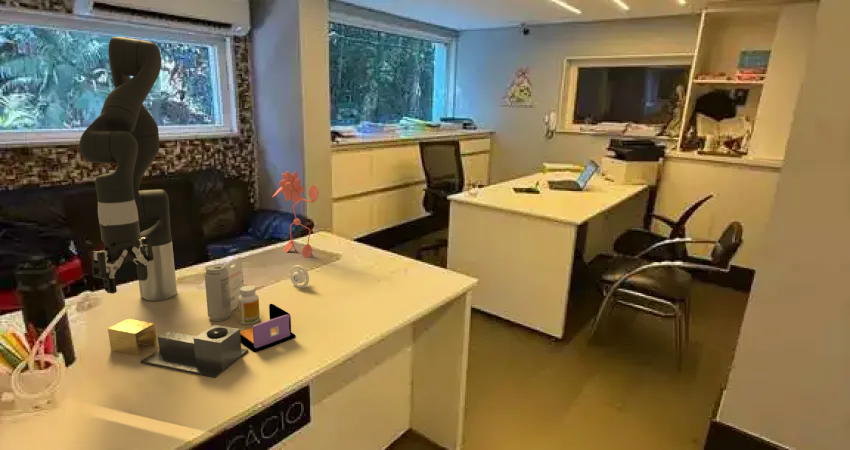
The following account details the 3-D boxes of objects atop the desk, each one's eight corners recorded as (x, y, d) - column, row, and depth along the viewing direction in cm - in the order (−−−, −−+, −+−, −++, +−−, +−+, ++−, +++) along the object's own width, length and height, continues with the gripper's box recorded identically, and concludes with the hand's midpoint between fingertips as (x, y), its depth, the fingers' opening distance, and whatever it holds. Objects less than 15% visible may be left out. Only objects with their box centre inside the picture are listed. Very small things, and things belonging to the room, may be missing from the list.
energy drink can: (214, 312, 134) (210, 263, 130) (234, 313, 133) (231, 264, 130) (204, 321, 128) (199, 270, 124) (225, 322, 128) (221, 271, 124)
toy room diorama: (297, 338, 121) (296, 314, 119) (254, 354, 112) (253, 328, 111) (273, 323, 129) (272, 300, 127) (232, 337, 120) (230, 313, 119)
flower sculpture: (284, 248, 195) (281, 166, 187) (329, 260, 182) (327, 172, 173) (254, 257, 183) (249, 169, 174) (299, 271, 169) (296, 176, 161)
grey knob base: (140, 363, 106) (136, 332, 104) (179, 339, 118) (177, 311, 116) (214, 378, 102) (212, 346, 100) (248, 351, 113) (246, 323, 111)
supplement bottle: (263, 318, 131) (262, 286, 129) (251, 326, 126) (249, 293, 124) (248, 314, 133) (246, 283, 130) (235, 322, 128) (232, 289, 125)
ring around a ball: (286, 287, 154) (286, 264, 152) (298, 282, 159) (298, 260, 157) (305, 292, 150) (304, 269, 148) (316, 286, 155) (316, 264, 153)
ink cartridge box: (230, 300, 142) (227, 254, 139) (245, 301, 141) (242, 256, 138) (213, 311, 134) (209, 263, 131) (229, 313, 133) (225, 265, 130)
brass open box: (111, 351, 111) (107, 328, 110) (130, 340, 116) (128, 318, 115) (138, 356, 109) (135, 333, 108) (157, 345, 114) (154, 323, 113)
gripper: (131, 212, 113) (139, 274, 116) (76, 225, 99) (86, 295, 103) (157, 214, 111) (164, 278, 115) (104, 228, 97) (114, 299, 101)
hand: (127, 286), depth 109 cm, fingers open, 8 cm apart
